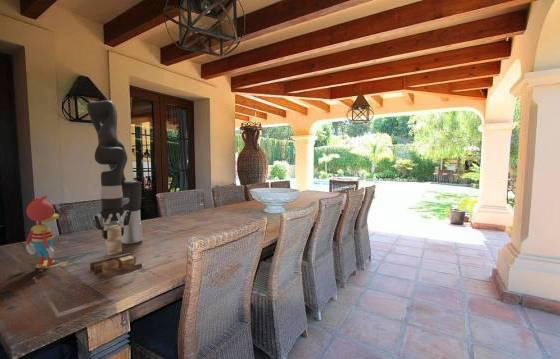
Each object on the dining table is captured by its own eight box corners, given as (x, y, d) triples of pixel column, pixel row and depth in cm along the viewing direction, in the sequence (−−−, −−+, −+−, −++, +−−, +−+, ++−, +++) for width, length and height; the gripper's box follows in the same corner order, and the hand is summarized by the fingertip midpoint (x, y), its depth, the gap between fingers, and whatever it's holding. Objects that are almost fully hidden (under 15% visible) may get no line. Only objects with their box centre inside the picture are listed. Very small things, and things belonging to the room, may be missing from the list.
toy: (71, 265, 117) (68, 195, 115) (44, 275, 108) (40, 198, 105) (48, 261, 122) (44, 193, 120) (20, 269, 112) (16, 196, 110)
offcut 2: (130, 264, 117) (130, 255, 116) (134, 267, 114) (134, 257, 114) (118, 267, 113) (118, 258, 113) (122, 270, 111) (122, 260, 110)
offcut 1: (114, 269, 112) (114, 259, 112) (118, 271, 109) (118, 261, 109) (102, 272, 109) (101, 262, 108) (105, 275, 106) (105, 265, 106)
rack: (130, 261, 123) (130, 252, 123) (143, 269, 115) (143, 259, 115) (88, 272, 111) (88, 262, 111) (99, 281, 103) (99, 271, 102)
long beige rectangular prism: (119, 250, 117) (118, 224, 117) (121, 251, 116) (121, 225, 115) (105, 253, 114) (104, 226, 113) (108, 255, 112) (107, 228, 111)
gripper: (126, 193, 121) (128, 232, 122) (88, 197, 110) (90, 239, 111) (134, 195, 116) (135, 235, 117) (94, 199, 105) (96, 243, 106)
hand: (113, 237), depth 114 cm, fingers closed on long beige rectangular prism, 5 cm apart
